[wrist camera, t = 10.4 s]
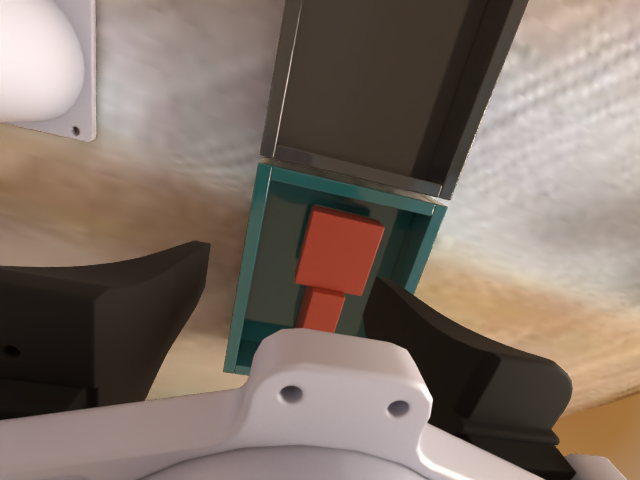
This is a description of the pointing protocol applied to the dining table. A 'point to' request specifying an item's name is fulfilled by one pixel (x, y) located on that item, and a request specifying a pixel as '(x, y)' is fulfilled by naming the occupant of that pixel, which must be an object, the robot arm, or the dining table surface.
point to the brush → (334, 263)
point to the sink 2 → (386, 86)
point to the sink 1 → (286, 240)
